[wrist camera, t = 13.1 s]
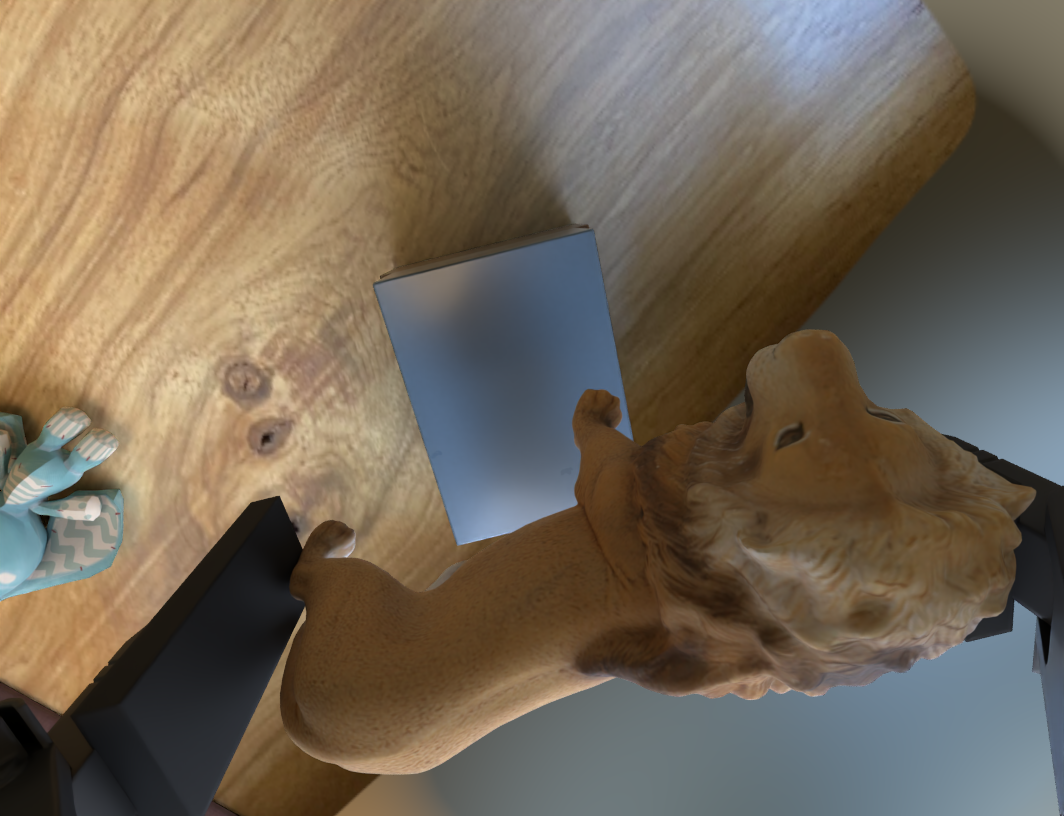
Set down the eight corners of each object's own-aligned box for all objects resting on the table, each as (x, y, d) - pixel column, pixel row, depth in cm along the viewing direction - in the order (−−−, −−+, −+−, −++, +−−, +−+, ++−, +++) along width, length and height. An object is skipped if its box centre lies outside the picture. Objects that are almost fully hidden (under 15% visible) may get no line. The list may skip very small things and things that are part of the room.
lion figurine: (702, 253, 14) (1044, 309, 5) (796, 419, 15) (1178, 676, 7) (250, 564, 16) (-48, 976, 7) (374, 682, 17) (251, 1138, 9)
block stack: (573, 223, 27) (608, 224, 19) (613, 426, 31) (657, 498, 23) (396, 267, 27) (357, 286, 19) (456, 464, 31) (445, 549, 23)
